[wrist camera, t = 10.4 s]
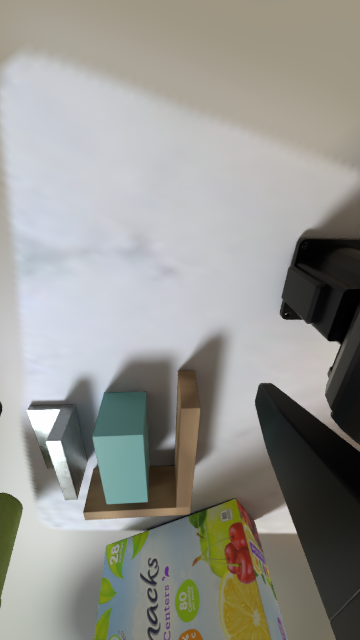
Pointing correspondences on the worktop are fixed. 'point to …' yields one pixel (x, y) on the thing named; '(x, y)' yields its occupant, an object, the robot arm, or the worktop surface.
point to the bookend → (61, 444)
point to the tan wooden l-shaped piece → (160, 468)
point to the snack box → (190, 582)
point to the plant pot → (7, 531)
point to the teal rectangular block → (123, 447)
